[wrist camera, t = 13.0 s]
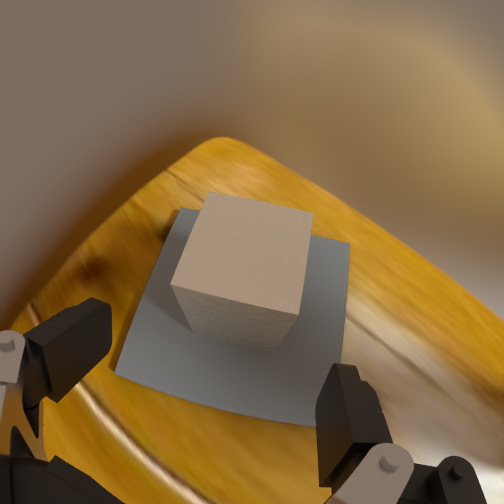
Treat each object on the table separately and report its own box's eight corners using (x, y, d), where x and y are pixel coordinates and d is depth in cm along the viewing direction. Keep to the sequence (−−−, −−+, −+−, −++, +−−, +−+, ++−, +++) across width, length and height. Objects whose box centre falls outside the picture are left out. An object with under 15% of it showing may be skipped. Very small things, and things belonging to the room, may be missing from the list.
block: (288, 280, 23) (313, 213, 15) (274, 352, 20) (298, 314, 12) (216, 264, 23) (208, 191, 16) (194, 333, 20) (170, 284, 13)
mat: (347, 247, 25) (359, 227, 23) (326, 427, 17) (340, 429, 14) (182, 211, 27) (177, 189, 24) (117, 374, 18) (99, 367, 16)
